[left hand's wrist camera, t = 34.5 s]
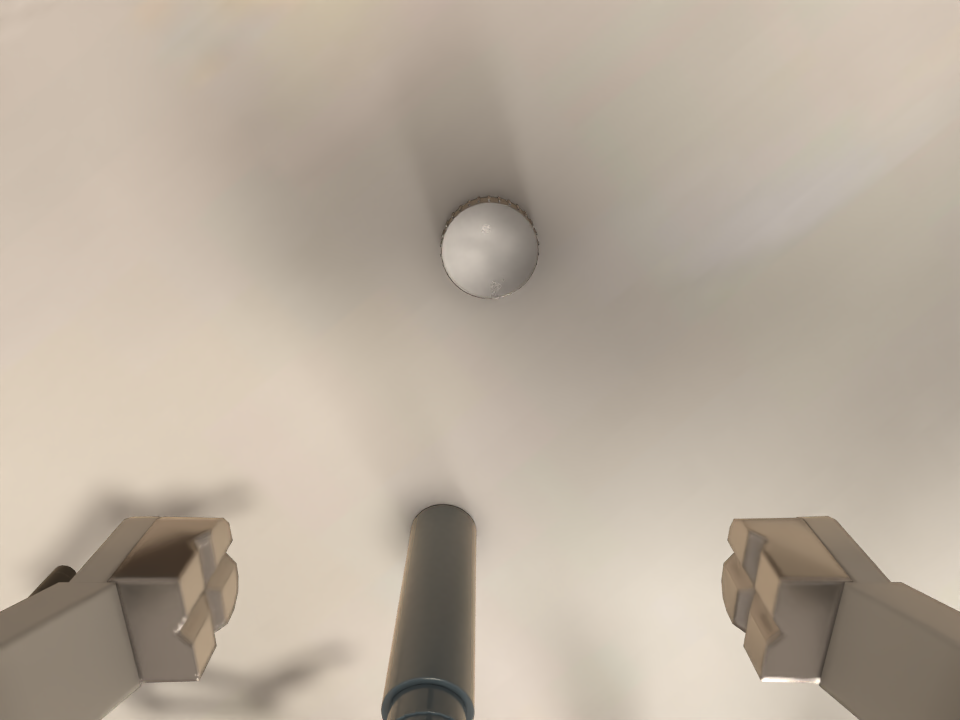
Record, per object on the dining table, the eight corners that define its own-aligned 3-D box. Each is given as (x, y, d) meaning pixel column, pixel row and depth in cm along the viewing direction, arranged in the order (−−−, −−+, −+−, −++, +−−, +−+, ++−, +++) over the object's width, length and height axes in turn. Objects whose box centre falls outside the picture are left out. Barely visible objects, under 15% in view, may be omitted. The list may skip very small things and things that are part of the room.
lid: (423, 227, 35) (420, 234, 33) (506, 176, 34) (508, 181, 32) (473, 306, 36) (472, 317, 34) (553, 259, 35) (557, 268, 33)
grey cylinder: (408, 505, 41) (368, 717, 27) (474, 502, 41) (471, 713, 27) (414, 560, 43) (380, 787, 28) (478, 557, 43) (476, 784, 28)
